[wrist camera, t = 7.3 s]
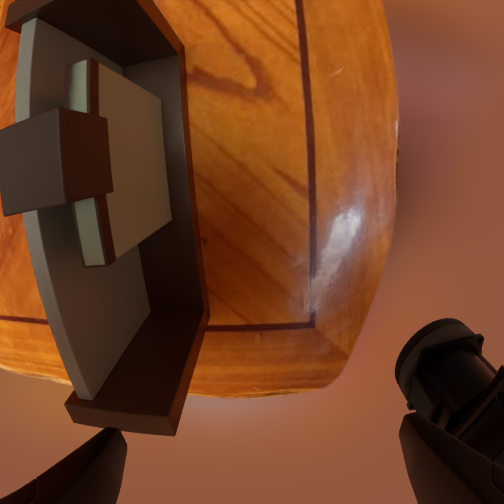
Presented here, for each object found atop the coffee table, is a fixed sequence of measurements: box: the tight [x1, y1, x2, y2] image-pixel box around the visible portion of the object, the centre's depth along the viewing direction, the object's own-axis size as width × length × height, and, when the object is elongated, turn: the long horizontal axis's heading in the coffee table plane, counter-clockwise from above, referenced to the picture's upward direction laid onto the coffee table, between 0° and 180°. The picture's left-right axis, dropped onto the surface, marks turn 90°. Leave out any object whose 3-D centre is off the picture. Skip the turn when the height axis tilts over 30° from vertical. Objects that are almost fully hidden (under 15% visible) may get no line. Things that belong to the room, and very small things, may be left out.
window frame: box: [5, 0, 210, 436], centre depth 14 cm, size 5×18×11 cm, turn 5°
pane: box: [0, 57, 172, 268], centre depth 12 cm, size 2×7×11 cm, turn 4°
